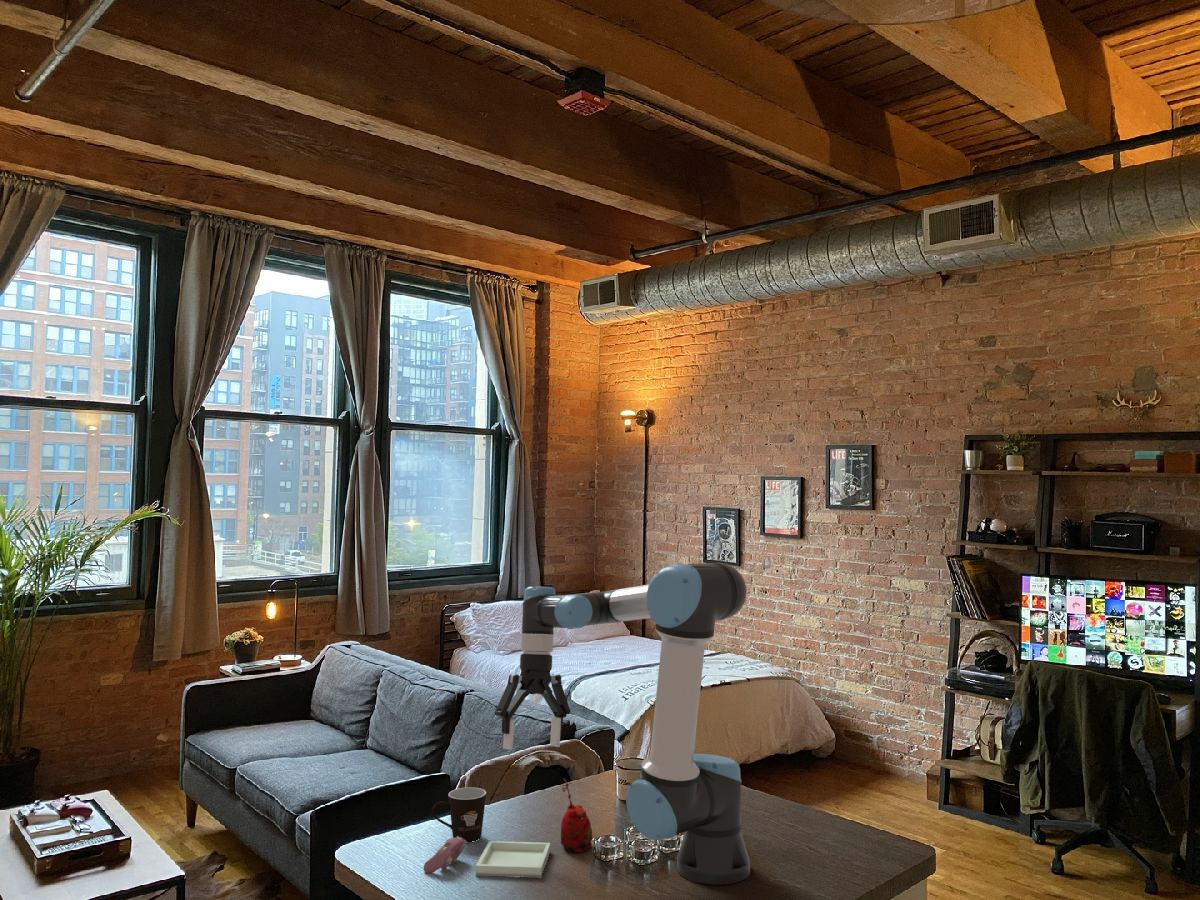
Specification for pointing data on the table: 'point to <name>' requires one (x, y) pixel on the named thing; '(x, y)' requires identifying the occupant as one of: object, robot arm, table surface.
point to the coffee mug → (465, 812)
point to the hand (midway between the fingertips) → (531, 747)
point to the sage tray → (513, 859)
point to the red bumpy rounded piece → (575, 827)
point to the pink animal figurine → (446, 855)
